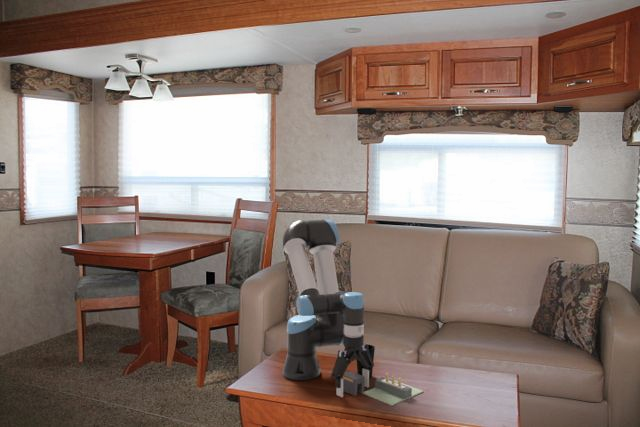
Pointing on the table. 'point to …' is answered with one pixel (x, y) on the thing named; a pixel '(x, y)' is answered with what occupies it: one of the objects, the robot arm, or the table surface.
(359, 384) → the plug block
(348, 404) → the table surface
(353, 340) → the robot arm
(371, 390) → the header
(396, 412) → the table surface
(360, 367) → the cup
